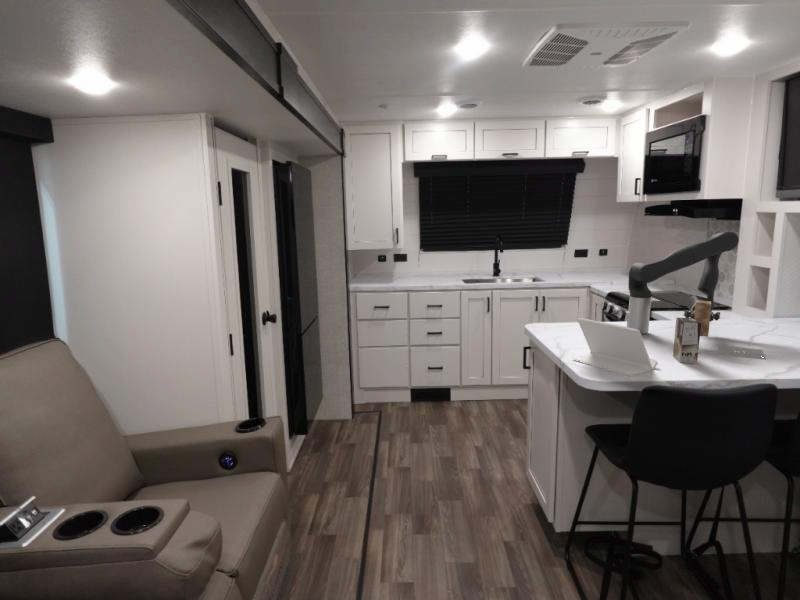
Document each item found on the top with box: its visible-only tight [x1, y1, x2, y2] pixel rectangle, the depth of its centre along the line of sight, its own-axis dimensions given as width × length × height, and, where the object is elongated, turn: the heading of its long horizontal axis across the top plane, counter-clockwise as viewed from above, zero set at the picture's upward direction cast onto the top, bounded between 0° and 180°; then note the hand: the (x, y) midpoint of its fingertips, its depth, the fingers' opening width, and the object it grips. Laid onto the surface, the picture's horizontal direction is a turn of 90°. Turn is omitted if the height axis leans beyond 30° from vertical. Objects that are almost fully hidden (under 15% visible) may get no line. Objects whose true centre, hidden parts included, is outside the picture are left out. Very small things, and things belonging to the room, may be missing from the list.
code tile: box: [716, 344, 767, 361], centre depth 210 cm, size 16×16×1 cm
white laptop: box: [572, 317, 659, 377], centre depth 195 cm, size 18×25×17 cm
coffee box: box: [672, 317, 701, 364], centre depth 199 cm, size 9×6×16 cm
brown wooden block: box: [695, 300, 711, 338], centre depth 215 cm, size 6×6×14 cm
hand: (702, 318), depth 213 cm, fingers closed on brown wooden block, 5 cm apart
